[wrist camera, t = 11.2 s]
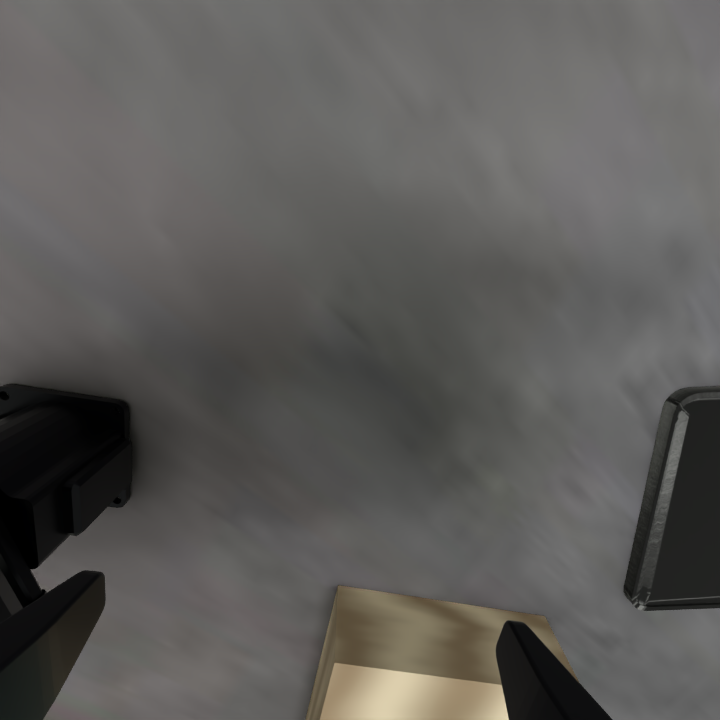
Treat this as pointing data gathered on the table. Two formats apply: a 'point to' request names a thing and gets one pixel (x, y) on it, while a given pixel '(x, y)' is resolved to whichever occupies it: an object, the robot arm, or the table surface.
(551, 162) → the table surface
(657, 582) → the phone
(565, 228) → the table surface
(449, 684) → the oak box
